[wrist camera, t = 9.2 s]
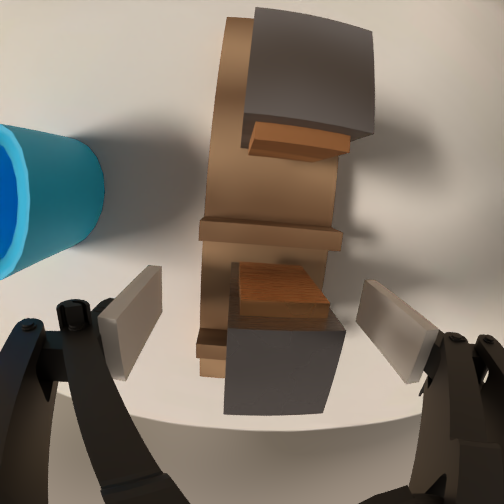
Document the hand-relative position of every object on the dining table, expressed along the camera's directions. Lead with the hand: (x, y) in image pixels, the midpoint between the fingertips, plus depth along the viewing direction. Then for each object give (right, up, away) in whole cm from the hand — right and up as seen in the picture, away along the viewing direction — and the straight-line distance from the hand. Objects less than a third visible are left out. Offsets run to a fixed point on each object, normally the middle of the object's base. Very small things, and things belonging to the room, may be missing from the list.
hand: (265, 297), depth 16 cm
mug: (-17, +7, +1) cm, 18 cm away
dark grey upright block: (0, 0, +2) cm, 2 cm away
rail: (0, +6, +2) cm, 6 cm away
